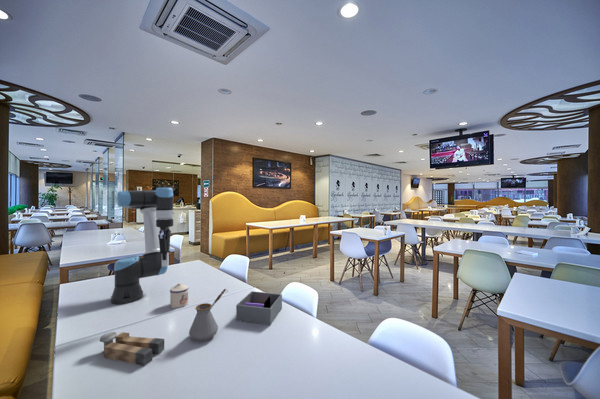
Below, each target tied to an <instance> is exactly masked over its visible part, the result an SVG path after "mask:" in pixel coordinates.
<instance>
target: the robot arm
mask: <svg viewBox="0 0 600 399" xmlns="http://www.w3.org/2000/svg"><path fill="white" fill-rule="evenodd" d="M115 201H116V203H117V206H118V207H121V208H124V209H132V210H139V212H140V213H141V214H142V215H143V216H142V217H143V229H144V230H143V233H144V247H145V248H144V249H145V252H144V253H143V254H142V257H139V255H130V256H126V257H122V258H119V259H118V260H116V261H115V262H114V268H113V271H114V288H113V292H112V295H111V296H110V303H111V304H114V305H124V304H129V303H132V302H135V301H138V300H141V299H142V298H143V296H144V291H143V289H142V285H141V284H140V279H143V278H150V277H155V276H159V275H164V274H166V272H167V271H168V267H169V264H170V262H169V253H171V250H170V248H171V247H170V246H171V233H172V231H171V229H170V227H171V228H172V227H173V226H174V219H173V218H174V214H175V211H174V189H173V188H172V187H156V188H155V190H153V189H152V190H123V191H121V190H120V191H118V192H117V195H116V200H115Z"/></svg>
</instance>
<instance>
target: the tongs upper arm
mask: <svg viewBox="0 0 600 399" xmlns="http://www.w3.org/2000/svg"><path fill="white" fill-rule="evenodd" d="M111 340H113V341H114V340H115V342H114V343H120V344H125V345H131V346H136V347H142V348H143V347H144V348H150V349H152V355H160V354H161V353H162V352H163V351H164V350H165V338H157V337H154V338H153V337H152V338H151V337H141V336H130V332H120V333H119V334H117V332H116V331H110V332H107V333H103V334H102V335H101V336H100V337H99V342H101V343H104V342H108V341H111Z"/></svg>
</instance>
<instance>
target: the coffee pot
mask: <svg viewBox="0 0 600 399" xmlns="http://www.w3.org/2000/svg"><path fill="white" fill-rule="evenodd" d="M220 292H221V293H219V295H218V296H217V297H216V299H215V300H214V301H213V303H212V304H211V303H209V302H206V303H200V304H197V305H195V308H194V309H195V311H196V314H195V317H194V319H193V322H192V324H191V326H190V329H189V331H188V334H189V337H190V338H191V339H192V340H193V341H195V342H196V343H197V342H198V343H203V342H207V341H209V340H211V339H213V337H214V336H216V334H217V332H218V330H219V326H218V324H217V322H216V319H215V317H214V315H213V313H212V311H211V310H212V308H213V307H214V306H215V304H217V302H218V301H219V300H220V299H221V297H222V296H223V294H225V293H228V289H227V288H224V289H223V291H220Z"/></svg>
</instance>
